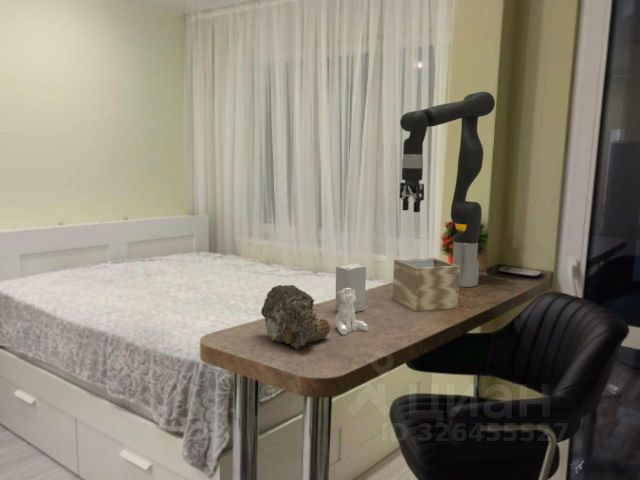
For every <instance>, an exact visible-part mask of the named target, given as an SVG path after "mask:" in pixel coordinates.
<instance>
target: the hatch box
mask: <svg viewBox="0 0 640 480" xmlns="http://www.w3.org/2000/svg"><path fill="white" fill-rule="evenodd" d="M428 259H434V266H435V267H425V268H417V267H414V266H411V265H409V264H406V263H403V262H401V261H406V260H428ZM459 272H460V266H457V265H454V264H453V263H450V262H448V261H444V260H442V259H438V258H435V257H433V258H413V259H412V258H411V259H394V260H393V281H392V282H393V283H392V284H393V285H392V300H393V301H395V302H397V303H399V304H400V305H403V306H404V307H406V308H408V309H410V310H411V311H414V312H421V311H422V312H423V311H434V310H447V309H458V307H459V287H460V286H459Z"/></svg>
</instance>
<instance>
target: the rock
mask: <svg viewBox="0 0 640 480" xmlns="http://www.w3.org/2000/svg"><path fill="white" fill-rule="evenodd" d="M314 302H315V299H314V298H313V296H311V295H310V294H308V293H307V292H306V291H303V290H302V289H300V288H298V287H297V286H295V285H291V284H290V285H287V284H286V285H281V284H279V285H276V286H273V287H272V288H271V290H269V291H268V292H267V294H266V298H265V299H264V303H263V305H262V307H261V310H260V312H261V316H263V318H264V321H265V328H266V333H267V334H268V335H269V337H270V338H271V340H272V341H277V342H278V343H283V342H284V343H285V344H290V346H291V347H293V348H294V349H295V350H297V349H299V350H300V349H301V347H303V346H305V345H306V344H307V343H314V341H315V342H318V340H319V341H320V340H322V339H325V338H326V337H328V334H330V331H331V325H330V324H329V321H327V320H325V319H324V318H322V319H320V320H319V318H317V314H316V312H313V311H314V308H313V307H314Z"/></svg>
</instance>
